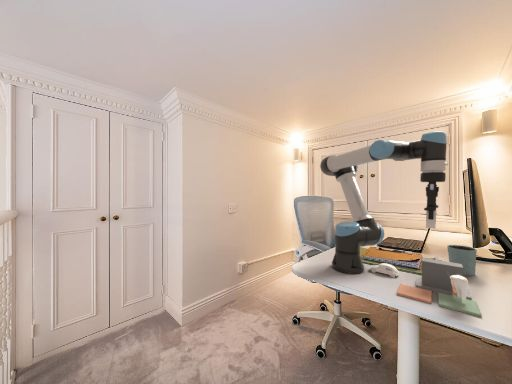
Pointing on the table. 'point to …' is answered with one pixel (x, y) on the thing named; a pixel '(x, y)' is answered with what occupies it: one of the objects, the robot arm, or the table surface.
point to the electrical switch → (435, 258)
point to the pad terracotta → (415, 293)
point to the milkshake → (458, 288)
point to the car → (385, 269)
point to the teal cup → (463, 258)
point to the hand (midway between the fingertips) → (431, 225)
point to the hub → (439, 276)
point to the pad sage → (459, 305)
